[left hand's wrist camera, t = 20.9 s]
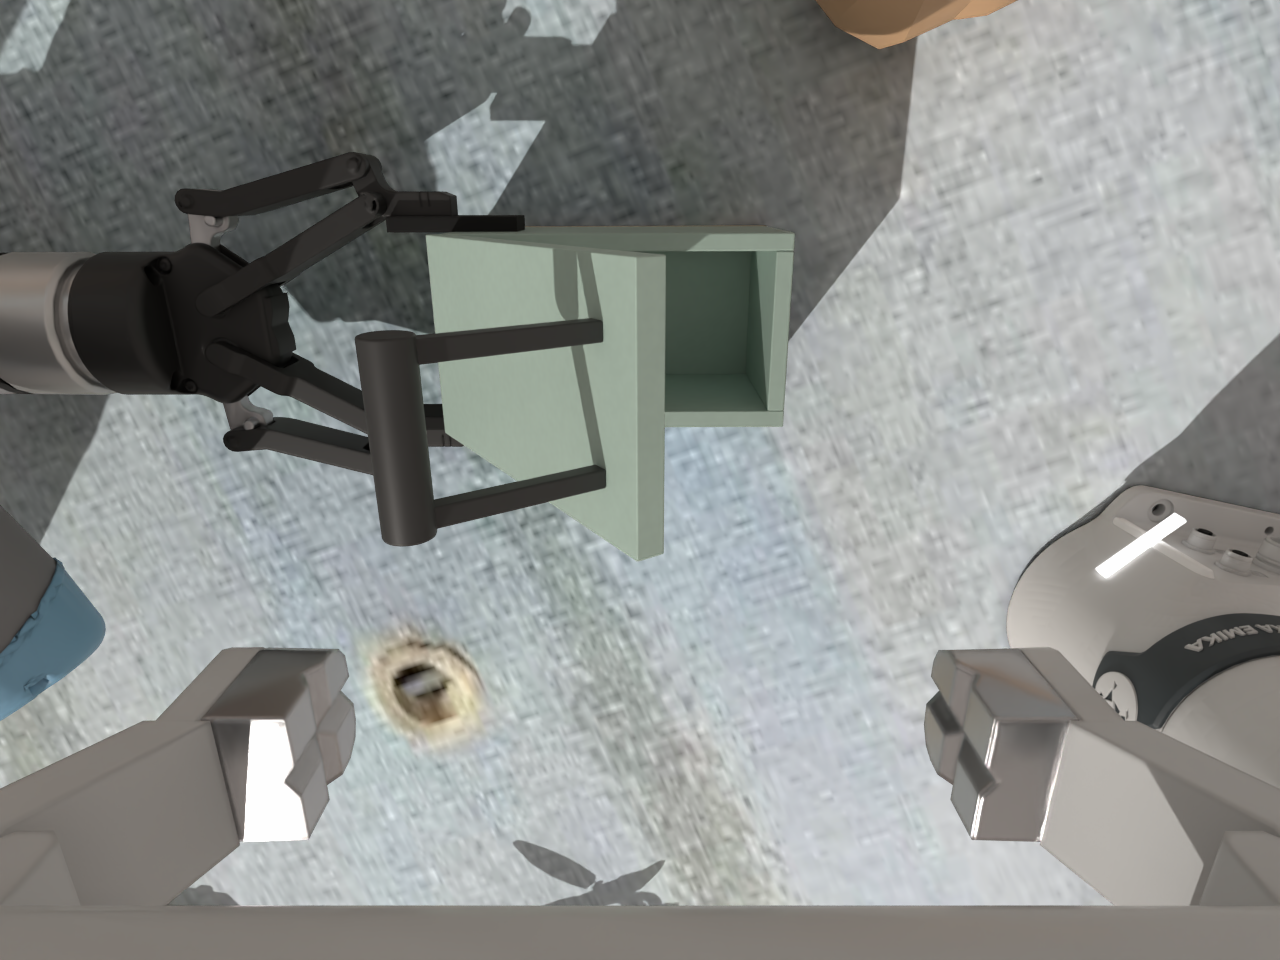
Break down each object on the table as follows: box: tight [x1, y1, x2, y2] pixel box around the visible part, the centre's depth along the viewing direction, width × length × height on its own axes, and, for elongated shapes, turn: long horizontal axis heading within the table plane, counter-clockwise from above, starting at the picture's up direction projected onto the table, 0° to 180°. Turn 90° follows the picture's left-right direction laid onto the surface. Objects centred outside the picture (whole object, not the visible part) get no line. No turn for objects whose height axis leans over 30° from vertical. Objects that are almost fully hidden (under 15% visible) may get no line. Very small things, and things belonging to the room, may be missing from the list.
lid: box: [355, 234, 666, 561], centre depth 28 cm, size 18×10×8 cm
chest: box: [443, 225, 795, 427], centre depth 42 cm, size 17×10×10 cm, turn 90°
